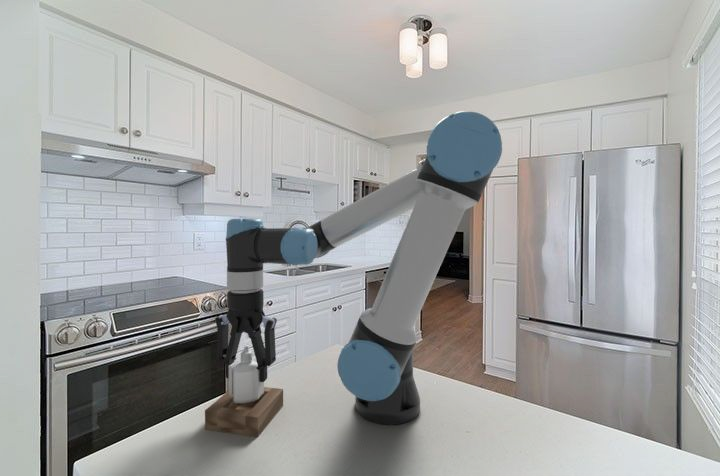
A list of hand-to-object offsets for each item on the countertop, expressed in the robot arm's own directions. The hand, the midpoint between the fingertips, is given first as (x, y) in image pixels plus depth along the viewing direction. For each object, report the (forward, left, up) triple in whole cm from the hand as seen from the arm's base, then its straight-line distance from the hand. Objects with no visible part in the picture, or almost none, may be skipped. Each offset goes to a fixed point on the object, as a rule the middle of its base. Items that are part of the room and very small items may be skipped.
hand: (246, 393), depth 76 cm
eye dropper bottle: (0, 0, -2) cm, 2 cm away
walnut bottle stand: (0, 0, -5) cm, 5 cm away
